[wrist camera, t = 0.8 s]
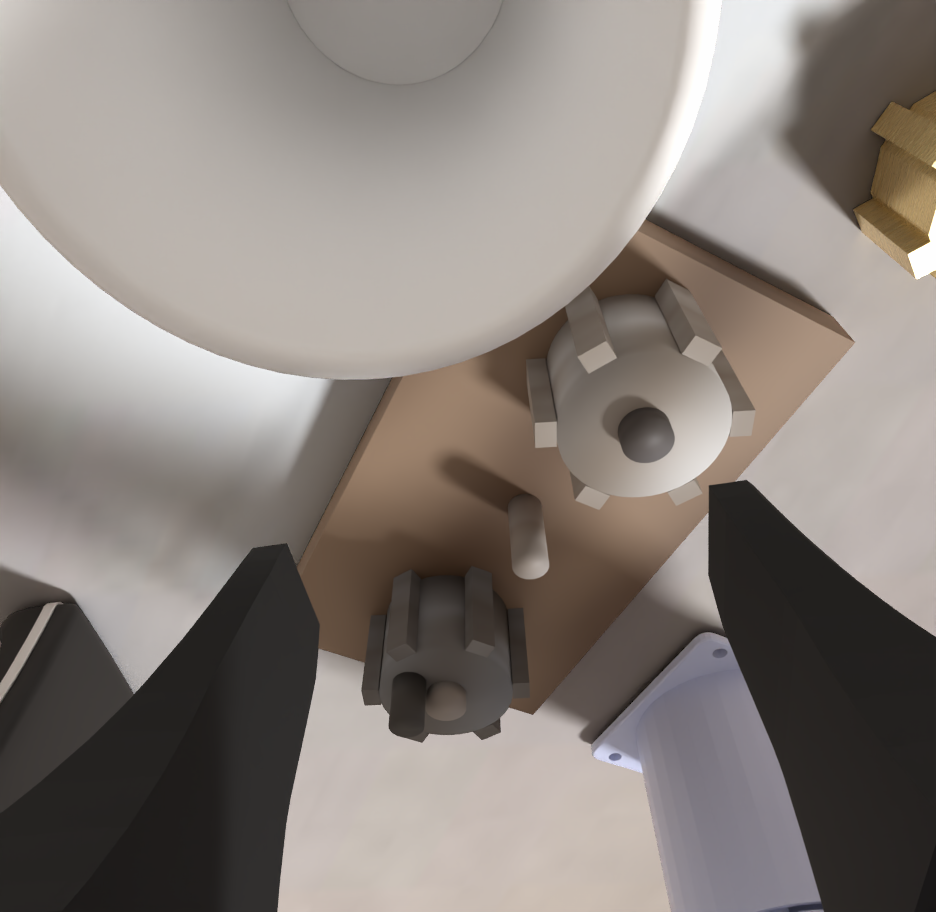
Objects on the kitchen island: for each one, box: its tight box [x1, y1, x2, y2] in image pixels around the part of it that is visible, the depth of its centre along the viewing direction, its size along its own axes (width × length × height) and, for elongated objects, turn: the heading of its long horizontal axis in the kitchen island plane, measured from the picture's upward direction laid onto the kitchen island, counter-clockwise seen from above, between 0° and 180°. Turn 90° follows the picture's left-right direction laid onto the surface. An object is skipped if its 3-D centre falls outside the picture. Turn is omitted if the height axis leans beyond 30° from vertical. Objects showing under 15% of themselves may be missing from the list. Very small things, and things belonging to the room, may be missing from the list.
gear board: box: [297, 219, 855, 742], centre depth 22 cm, size 10×17×6 cm, turn 154°
